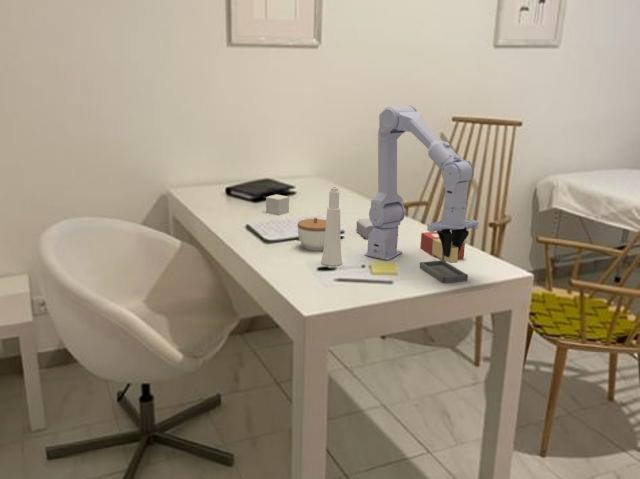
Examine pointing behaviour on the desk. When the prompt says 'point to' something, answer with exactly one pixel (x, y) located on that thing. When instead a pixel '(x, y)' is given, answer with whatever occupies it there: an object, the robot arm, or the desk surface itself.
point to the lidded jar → (312, 233)
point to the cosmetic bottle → (332, 231)
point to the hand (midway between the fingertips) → (450, 255)
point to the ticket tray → (443, 271)
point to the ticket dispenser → (428, 244)
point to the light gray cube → (277, 204)
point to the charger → (364, 227)
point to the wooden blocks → (438, 251)
